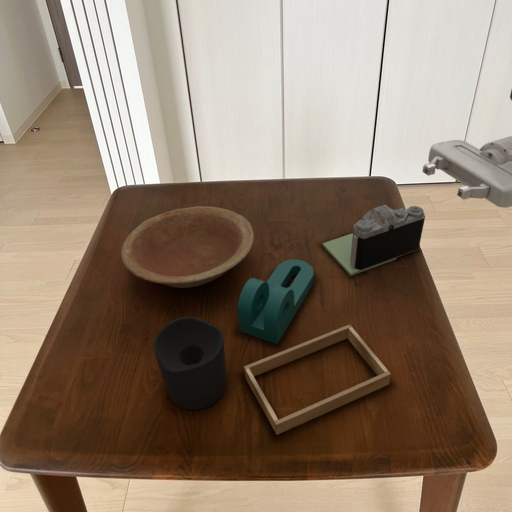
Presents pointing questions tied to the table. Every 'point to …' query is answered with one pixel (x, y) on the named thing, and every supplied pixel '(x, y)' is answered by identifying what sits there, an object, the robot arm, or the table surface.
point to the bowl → (187, 246)
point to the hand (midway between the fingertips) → (442, 181)
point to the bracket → (274, 300)
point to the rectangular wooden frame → (326, 404)
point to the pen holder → (191, 362)
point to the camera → (386, 235)
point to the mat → (345, 253)
